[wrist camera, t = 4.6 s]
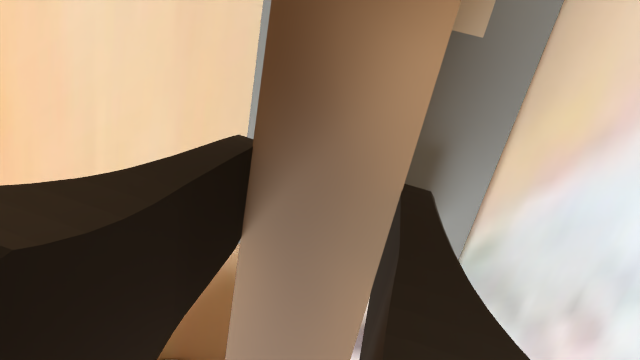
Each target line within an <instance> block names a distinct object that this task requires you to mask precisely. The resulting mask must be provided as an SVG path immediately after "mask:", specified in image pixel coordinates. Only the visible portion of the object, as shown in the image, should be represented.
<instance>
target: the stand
mask: <svg viewBox="0 0 640 360" xmlns="http://www.w3.org/2000/svg"><path fill="white" fill-rule="evenodd" d="M563 2H564V0H461V2H460V6H459V9H458V12H457V15H456V19H455V22H454V25H453V28H452V31H451V35H450V38H449V41H448V44H447V48H446V51H445V54H444V57H443V61H442V64H441V67H440V70H439V74H438V77H437V80H436V83H435V86H434V90H433V93H432V96H431V99H430V103H429V106H428V109H427V112H426V116H425V119H424V122H423V125H422V129H421V132H420V135H419V138H418V142H417V145H416V148H415V151H414V154H413V158H412V161H411V164H410V167H409V171H408V174H407V177H406V180H405V184H408V185H411V186H415V187H418V188H421V189H425V190H428V191H431V192H432V194H433V196H434V198H435V203H436V206H437V210H438V213H439V216H440V219H441V221H442V224H443V227H444V229H445V232H446V234H447V237H448V239H449V241H450V244H451V246H452V248H453V251H454V253H455V255H456V257H457V259H459V257H460V254H461V252H462V249H463V247H464V245H465V242H466V240H467V237H468V235H469V232H470V230H471V227H472V225H473V223H474V220H475V218H476V215H477V213H478V210H479V208H480V205H481V203H482V200H483V198H484V196H485V193H486V191H487V188H488V186H489V183H490V181H491V178H492V176H493V173H494V171H495V169H496V166H497V164H498V161H499V159H500V156H501V154H502V151H503V149H504V147H505V144H506V142H507V139H508V137H509V134H510V132H511V129H512V127H513V124H514V122H515V120H516V117H517V115H518V112H519V110H520V107H521V105H522V102H523V100H524V97H525V95H526V93H527V90H528V88H529V85H530V83H531V80H532V78H533V75H534V73H535V71H536V68H537V66H538V63H539V61H540V58H541V56H542V53H543V51H544V48H545V46H546V44H547V41H548V39H549V36H550V34H551V31H552V29H553V26H554V24H555V21H556V19H557V17H558V14H559V12H560V9H561V7H562V4H563ZM270 7H271V0H264V1H263V9H262V18H261V26H260V34H259V43H258V51H257V60H256V68H255V76H254V85H253V93H252V101H251V110H250V118H249V127H248V135H247V137H248V138H251V139H254V131H255V123H256V115H257V108H258V100H259V92H260V84H261V76H262V69H263V61H264V53H265V45H266V38H267V30H268V22H269V14H270ZM239 244H240V241H239Z"/></svg>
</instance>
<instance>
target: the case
mask: <svg viewBox="0 0 640 360" xmlns="http://www.w3.org/2000/svg"><path fill="white" fill-rule="evenodd" d="M460 2H461V0H271V7H270V14H269V22H268V30H267V38H266V45H265V53H264V61H263V69H262V76H261V84H260V92H259V100H258V108H257V115H256V123H255V131H254V139H253V146H252V147H253V151H252V158H251V166H250V174H249V182H248V189H247V197H246V205H245V213H244V220H243V228H242V236H241V239H240V247H239V255H238V263H237V270H236V278H235V286H234V294H233V301H232V309H231V317H230V325H229V332H228V340H227V348H226V356H225V360H350V358H351V355H352V352H353V349H354V345H355V342H356V339H357V336H358V332H359V329H360V326H361V323H362V320H363V316H364V313H365V310H366V307H367V303H368V300H369V297H370V293H371V289H372V286H373V282H374V279H375V276H376V273H377V269H378V266H379V263H380V260H381V256H382V253H383V250H384V247H385V243H386V240H387V237H388V234H389V230H390V227H391V224H392V221H393V217H394V214H395V211H396V208H397V204H398V201H399V198H400V195H401V192H402V190H403V187H404V184H405V180H406V177H407V174H408V171H409V167H410V164H411V161H412V158H413V154H414V151H415V148H416V145H417V142H418V138H419V135H420V132H421V129H422V125H423V122H424V119H425V116H426V112H427V109H428V106H429V103H430V99H431V96H432V93H433V90H434V86H435V83H436V80H437V77H438V74H439V70H440V67H441V64H442V61H443V57H444V54H445V51H446V48H447V44H448V41H449V38H450V35H451V31H452V28H453V25H454V22H455V19H456V15H457V12H458V9H459V6H460Z"/></svg>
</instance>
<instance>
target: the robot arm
mask: <svg viewBox="0 0 640 360" xmlns="http://www.w3.org/2000/svg"><path fill="white" fill-rule="evenodd" d="M252 146H253V139H251V138H248V137H244V136H241V135H236V136H232V137H228V138H225V139H222V140H219V141H216V142H213V143H210V144H207V145H204V146H201V147H198V148H195V149H192V150H189V151H186V152H183V153H180V154H177V155H174V156H171V157H167V158H163V159H160V160H156V161H153V162H149V163H146V164H142V165H139V166H135V167H132V168H127V169H123V170H119V171H114V172H109V173H104V174H99V175H93V176H88V177H82V178H75V179H67V180H58V181H49V182H41V183H32V184H19V185H3V186H0V360H157V358H158V357H159V355H160V353H161V352H162V350H163V348H164V347H165V345H166V343H167V342H168V340H169V338H170V337H171V335H172V333H173V332H174V330H175V329H176V327H177V326H178V324H179V323H180V322H181V320H182V319H183V317H184V316H185V314H186V313H187V312H188V311H189V309H190V308H191V307H192V305H193V304H194V303H195V301H196V300H197V299H198V297H199V296H200V295H201V293H202V292H203V291H204V289H205V288H206V287H207V286H208V284H209V283H210V282H211V280H212V279H213V278H214V276H215V275H216V274H217V272H218V271H219V270H220V268H221V267H222V266H223V264H224V263H225V262H226V260H227V259H228V258H229V256H230V255H231V254H232V252H233V251H234V249H235V248H236V246H237V245H238V243H239V241H240V239H241V236H242V228H243V220H244V213H245V205H246V197H247V189H248V182H249V174H250V166H251V158H252V151H253V147H252ZM360 360H530V359H529V358H528V357H527V356H526V354H525V353H524V352H523V351H522V350H521V349H520V348H519V347H518V346H517V345H516V343H515V342H514V341H513V340H512V339H511V337H510V336H509V335H508V334H507V333H506V331H505V330H504V329H503V328H502V327H501V325H500V324H499V323H498V322H497V321H496V319H495V318H494V317H493V315H492V314H491V313H490V311H489V310H488V309H487V307H486V306H485V304H484V303H483V301H482V300H481V298H480V297H479V295H478V294H477V292H476V291H475V290H474V288H473V287H472V285H471V283H470V281H469V280H468V278H467V276H466V274H465V272H464V270H463V269H462V267H461V265H460V263H459V261H458V259H457V257H456V255H455V253H454V251H453V248H452V246H451V244H450V241H449V239H448V237H447V234H446V232H445V229H444V227H443V224H442V221H441V219H440V216H439V213H438V210H437V206H436V203H435V198H434V196H433V194H432V192H431V191H428V190H425V189H421V188H418V187H415V186H411V185H408V184H404V187H403V190H402V192H401V195H400V198H399V201H398V204H397V208H396V211H395V214H394V217H393V221H392V224H391V227H390V230H389V234H388V237H387V240H386V243H385V247H384V250H383V253H382V256H381V260H380V263H379V266H378V269H377V273H376V276H375V279H374V282H373V286H372V289H371V293H370V299H369V305H368V311H367V317H366V323H365V329H364V335H363V341H362V347H361V353H360Z"/></svg>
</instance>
